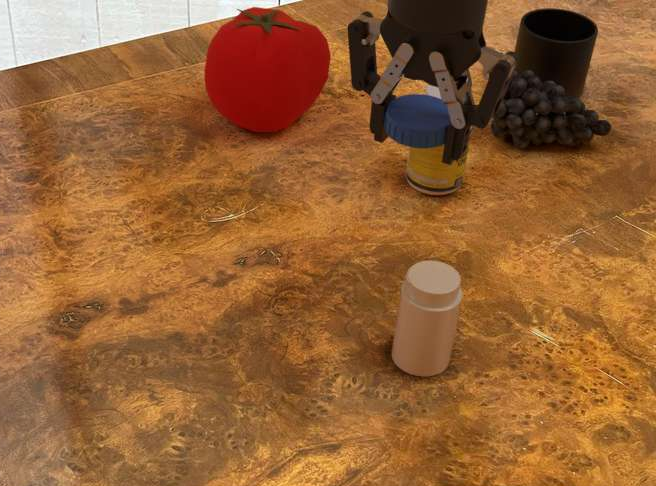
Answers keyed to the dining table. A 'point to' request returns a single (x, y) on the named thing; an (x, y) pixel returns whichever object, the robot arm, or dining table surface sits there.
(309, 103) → the tomato
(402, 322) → the plain beige capped bottle
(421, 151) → the pill bottle
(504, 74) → the robot arm
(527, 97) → the fruit
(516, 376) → the dining table surface
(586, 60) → the black cylindrical cup
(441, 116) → the jar lid
